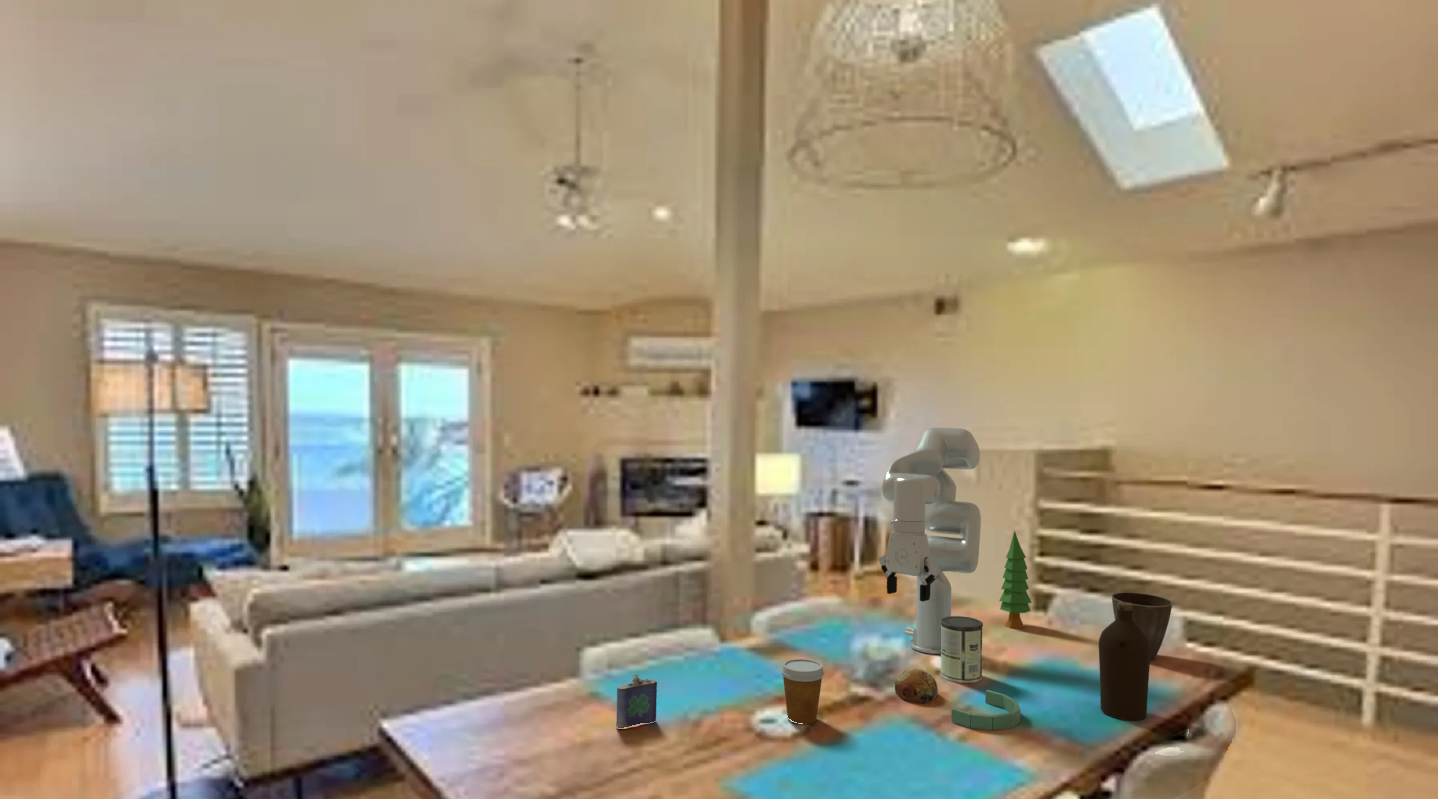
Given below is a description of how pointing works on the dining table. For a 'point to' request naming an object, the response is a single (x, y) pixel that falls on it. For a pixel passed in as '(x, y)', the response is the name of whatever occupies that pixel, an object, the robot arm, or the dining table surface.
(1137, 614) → the plant pot
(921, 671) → the bread roll
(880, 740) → the dining table surface
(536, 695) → the dining table surface
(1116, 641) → the olive oil
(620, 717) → the flask
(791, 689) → the disposable coffee cup
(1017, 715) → the segmented green arc
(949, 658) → the coffee can
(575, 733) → the dining table surface
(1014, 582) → the decorative tree
